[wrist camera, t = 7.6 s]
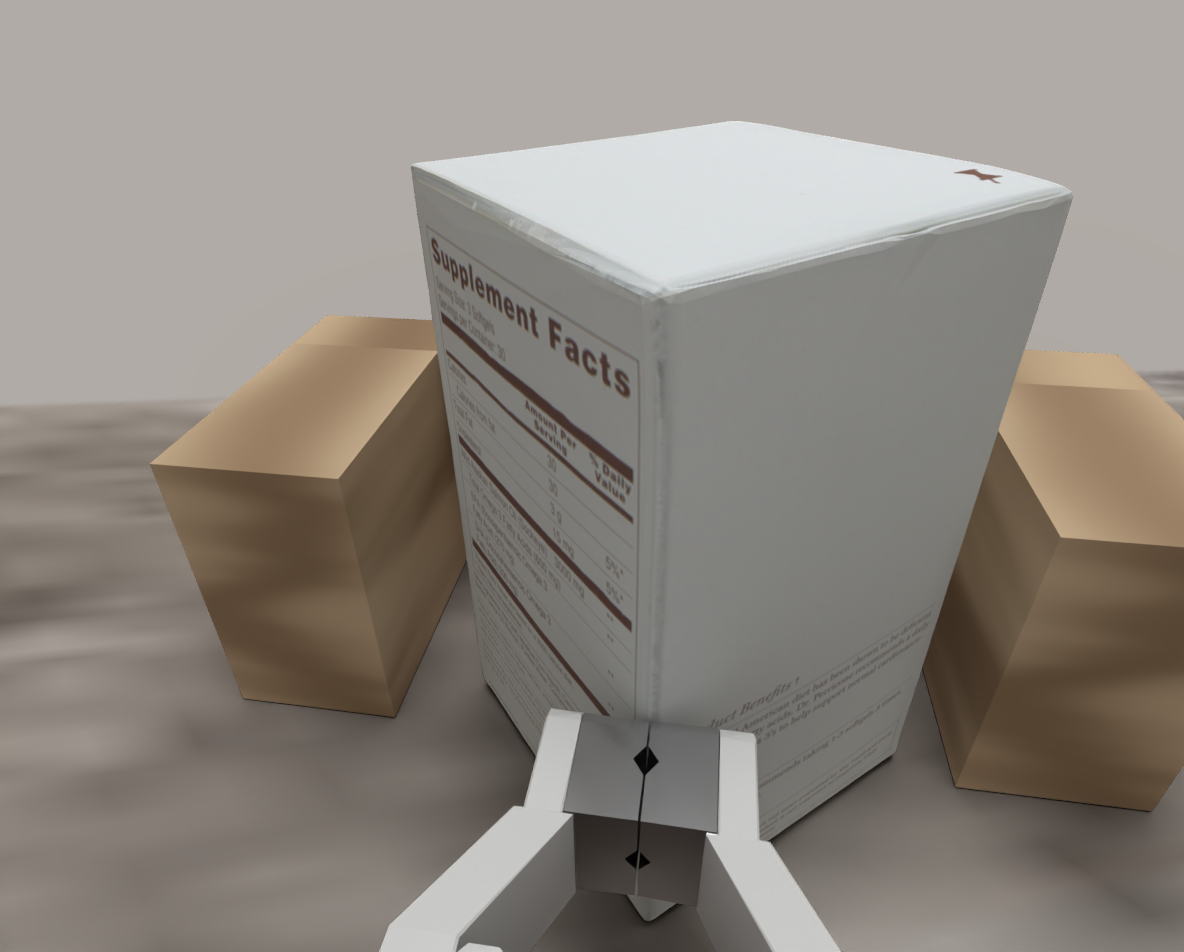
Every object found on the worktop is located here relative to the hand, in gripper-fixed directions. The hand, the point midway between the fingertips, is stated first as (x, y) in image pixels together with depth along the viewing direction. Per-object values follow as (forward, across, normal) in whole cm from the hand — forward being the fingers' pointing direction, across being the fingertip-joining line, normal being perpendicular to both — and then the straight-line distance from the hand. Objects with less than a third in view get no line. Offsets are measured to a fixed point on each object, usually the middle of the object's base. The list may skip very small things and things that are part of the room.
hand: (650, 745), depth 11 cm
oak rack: (+8, 0, +5) cm, 10 cm away
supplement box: (+5, 0, +6) cm, 8 cm away
